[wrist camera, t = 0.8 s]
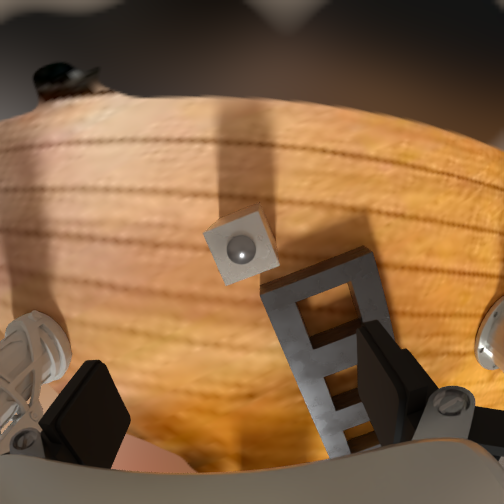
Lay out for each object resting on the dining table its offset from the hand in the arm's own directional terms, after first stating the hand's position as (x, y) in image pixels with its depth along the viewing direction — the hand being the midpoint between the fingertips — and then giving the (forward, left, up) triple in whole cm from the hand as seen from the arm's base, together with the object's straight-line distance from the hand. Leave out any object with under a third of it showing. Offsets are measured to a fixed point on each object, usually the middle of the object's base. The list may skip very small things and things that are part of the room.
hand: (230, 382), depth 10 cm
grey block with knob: (0, -2, -24) cm, 24 cm away
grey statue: (+33, +3, -24) cm, 41 cm away
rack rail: (-5, +19, -24) cm, 31 cm away
